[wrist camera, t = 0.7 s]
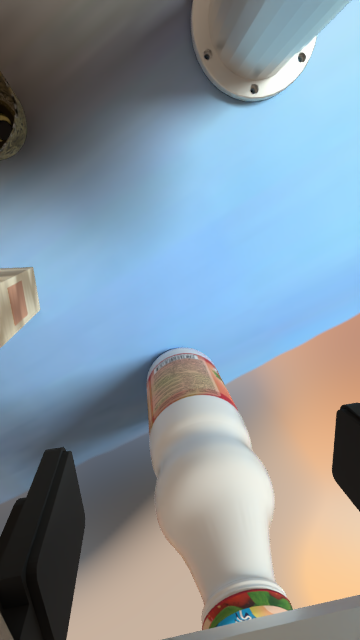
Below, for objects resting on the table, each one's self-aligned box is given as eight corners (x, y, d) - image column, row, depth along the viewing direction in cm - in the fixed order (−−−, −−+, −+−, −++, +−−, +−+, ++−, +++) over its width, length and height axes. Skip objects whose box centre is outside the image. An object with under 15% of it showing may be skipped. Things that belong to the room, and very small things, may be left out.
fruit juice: (167, 333, 40) (223, 559, 14) (228, 362, 42) (378, 602, 16) (133, 393, 42) (127, 690, 16) (194, 417, 44) (277, 710, 18)
